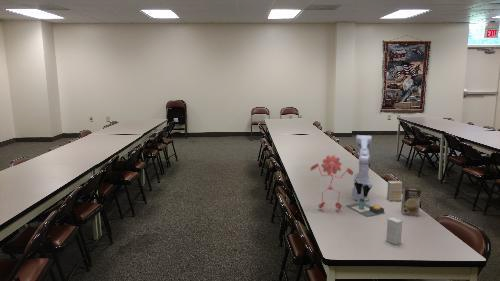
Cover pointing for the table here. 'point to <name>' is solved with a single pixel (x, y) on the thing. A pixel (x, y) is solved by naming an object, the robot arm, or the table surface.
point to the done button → (376, 207)
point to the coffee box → (410, 201)
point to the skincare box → (394, 230)
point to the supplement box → (394, 191)
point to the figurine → (331, 167)
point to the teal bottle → (361, 203)
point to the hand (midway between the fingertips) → (362, 195)
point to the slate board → (366, 210)
